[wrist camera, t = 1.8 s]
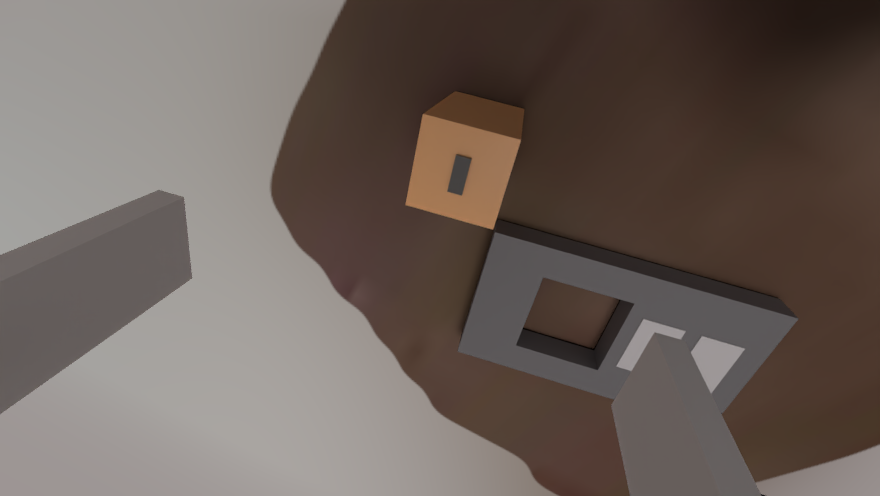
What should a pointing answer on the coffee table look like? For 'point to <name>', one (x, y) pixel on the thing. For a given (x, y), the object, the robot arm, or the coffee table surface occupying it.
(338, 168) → the coffee table surface
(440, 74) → the coffee table surface
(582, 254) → the power strip
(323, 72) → the coffee table surface
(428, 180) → the charger
